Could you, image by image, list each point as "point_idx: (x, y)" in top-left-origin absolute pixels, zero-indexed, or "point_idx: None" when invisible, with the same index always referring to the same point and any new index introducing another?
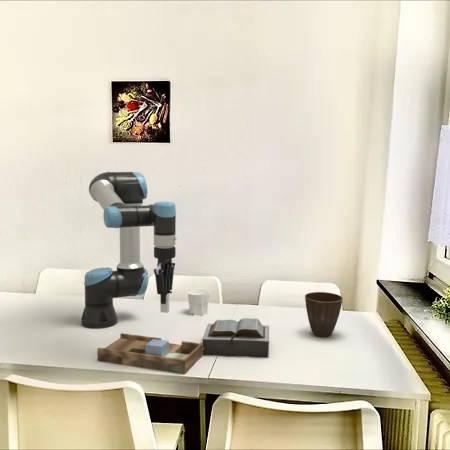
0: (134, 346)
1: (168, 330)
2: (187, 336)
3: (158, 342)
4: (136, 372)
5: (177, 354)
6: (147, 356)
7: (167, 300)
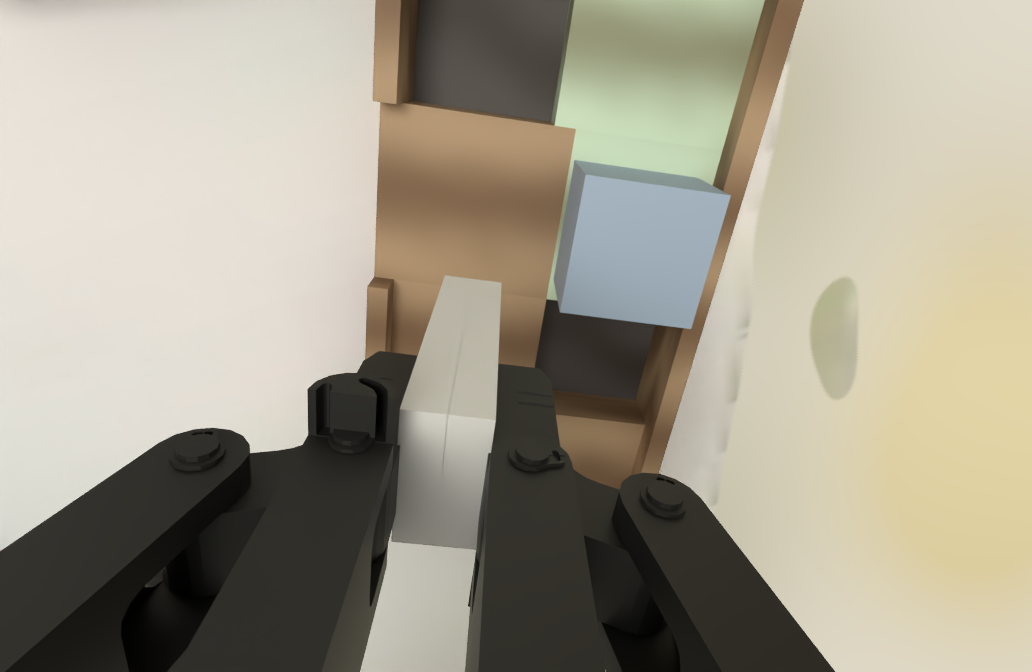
0: None
1: (24, 318)
2: (61, 151)
3: (633, 248)
4: (750, 294)
5: (587, 84)
6: (715, 276)
7: (496, 360)
